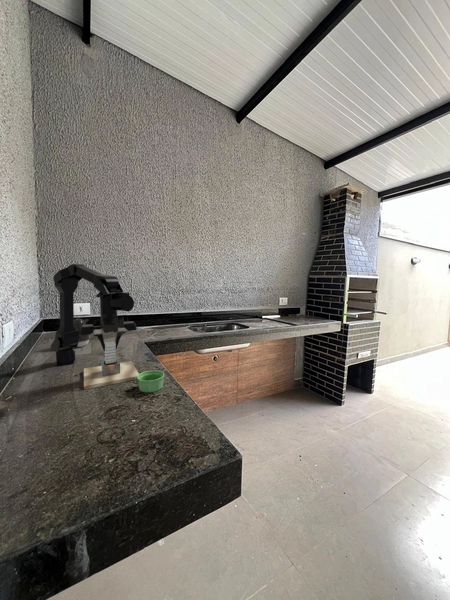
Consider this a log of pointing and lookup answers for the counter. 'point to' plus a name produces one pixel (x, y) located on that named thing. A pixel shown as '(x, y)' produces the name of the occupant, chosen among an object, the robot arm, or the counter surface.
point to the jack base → (109, 374)
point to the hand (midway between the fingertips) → (110, 349)
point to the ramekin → (150, 381)
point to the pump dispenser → (83, 338)
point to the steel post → (110, 352)
